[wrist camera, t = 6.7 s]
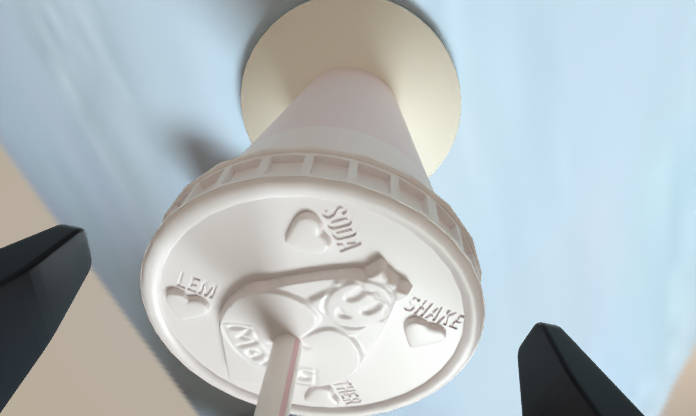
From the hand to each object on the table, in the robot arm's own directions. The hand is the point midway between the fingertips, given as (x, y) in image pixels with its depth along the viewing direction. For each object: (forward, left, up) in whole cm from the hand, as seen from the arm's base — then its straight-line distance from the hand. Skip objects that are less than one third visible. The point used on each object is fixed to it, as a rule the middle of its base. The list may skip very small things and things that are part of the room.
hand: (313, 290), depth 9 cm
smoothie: (0, 0, -9) cm, 9 cm away
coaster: (0, 0, -9) cm, 9 cm away
